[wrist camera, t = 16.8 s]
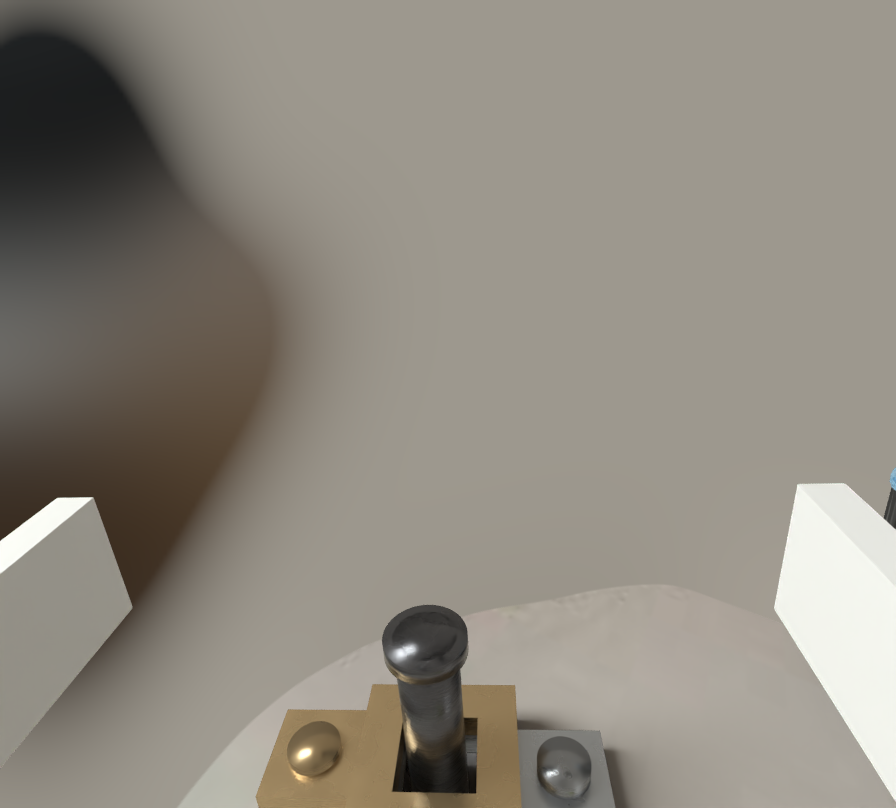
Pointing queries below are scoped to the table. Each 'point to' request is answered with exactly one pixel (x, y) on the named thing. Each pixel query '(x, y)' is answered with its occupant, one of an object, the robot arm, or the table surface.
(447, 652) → the black pin
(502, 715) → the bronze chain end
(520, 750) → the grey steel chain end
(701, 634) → the table surface
